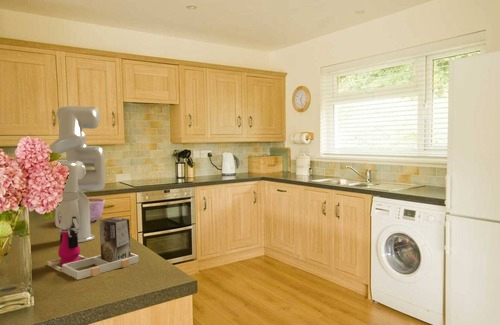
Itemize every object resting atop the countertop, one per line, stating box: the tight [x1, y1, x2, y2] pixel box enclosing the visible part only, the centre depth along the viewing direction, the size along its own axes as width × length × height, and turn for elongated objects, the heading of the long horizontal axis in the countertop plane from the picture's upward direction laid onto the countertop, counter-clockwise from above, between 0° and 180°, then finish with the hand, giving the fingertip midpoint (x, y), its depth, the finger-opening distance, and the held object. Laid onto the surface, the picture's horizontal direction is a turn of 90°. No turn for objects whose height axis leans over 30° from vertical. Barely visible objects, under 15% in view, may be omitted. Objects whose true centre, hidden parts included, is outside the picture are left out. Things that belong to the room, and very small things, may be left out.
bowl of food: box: [88, 197, 106, 223], centre depth 209 cm, size 20×20×12 cm
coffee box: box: [99, 216, 131, 262], centre depth 136 cm, size 9×6×16 cm
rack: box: [61, 252, 140, 280], centre depth 132 cm, size 13×22×2 cm, turn 139°
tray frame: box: [46, 254, 88, 273], centre depth 136 cm, size 11×11×1 cm
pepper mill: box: [57, 219, 81, 267], centre depth 136 cm, size 7×7×20 cm
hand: (69, 245), depth 136 cm, fingers open, 5 cm apart
